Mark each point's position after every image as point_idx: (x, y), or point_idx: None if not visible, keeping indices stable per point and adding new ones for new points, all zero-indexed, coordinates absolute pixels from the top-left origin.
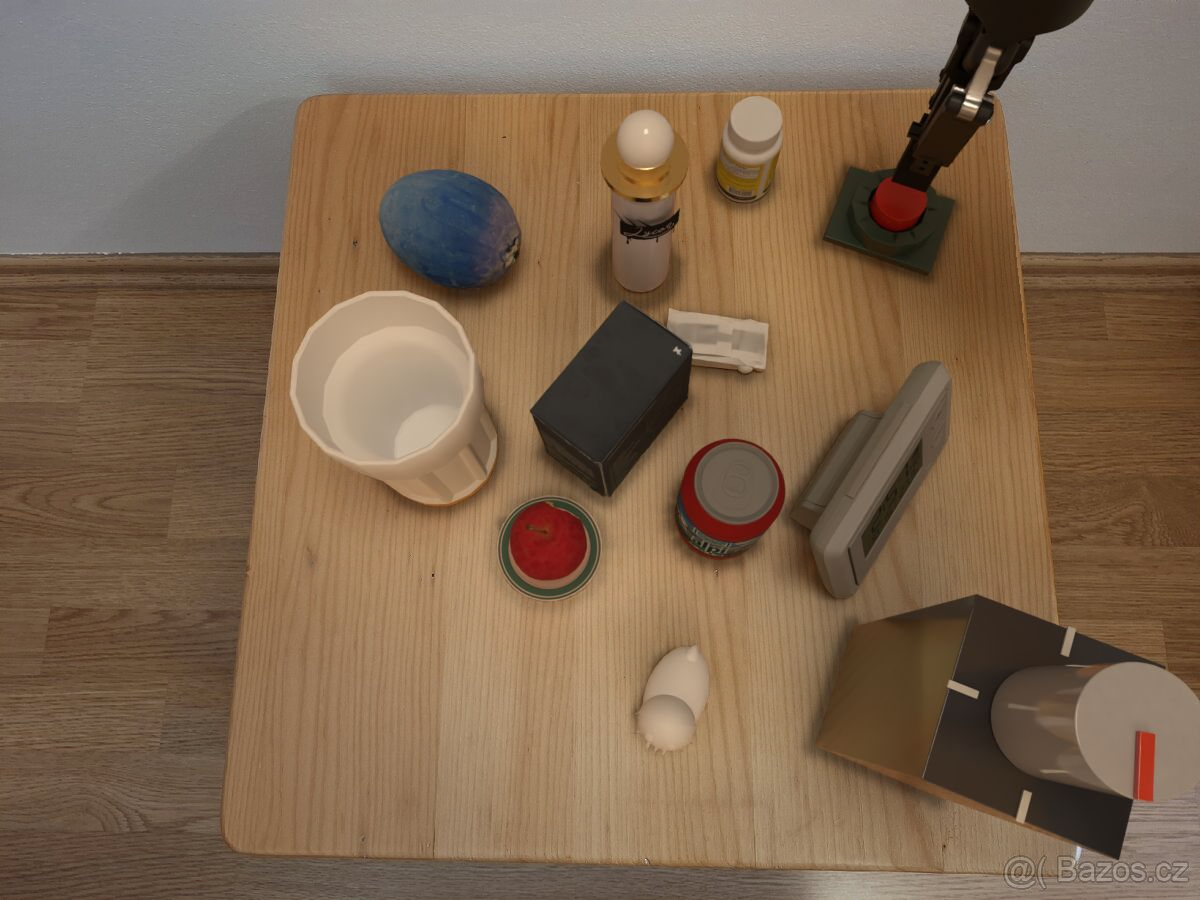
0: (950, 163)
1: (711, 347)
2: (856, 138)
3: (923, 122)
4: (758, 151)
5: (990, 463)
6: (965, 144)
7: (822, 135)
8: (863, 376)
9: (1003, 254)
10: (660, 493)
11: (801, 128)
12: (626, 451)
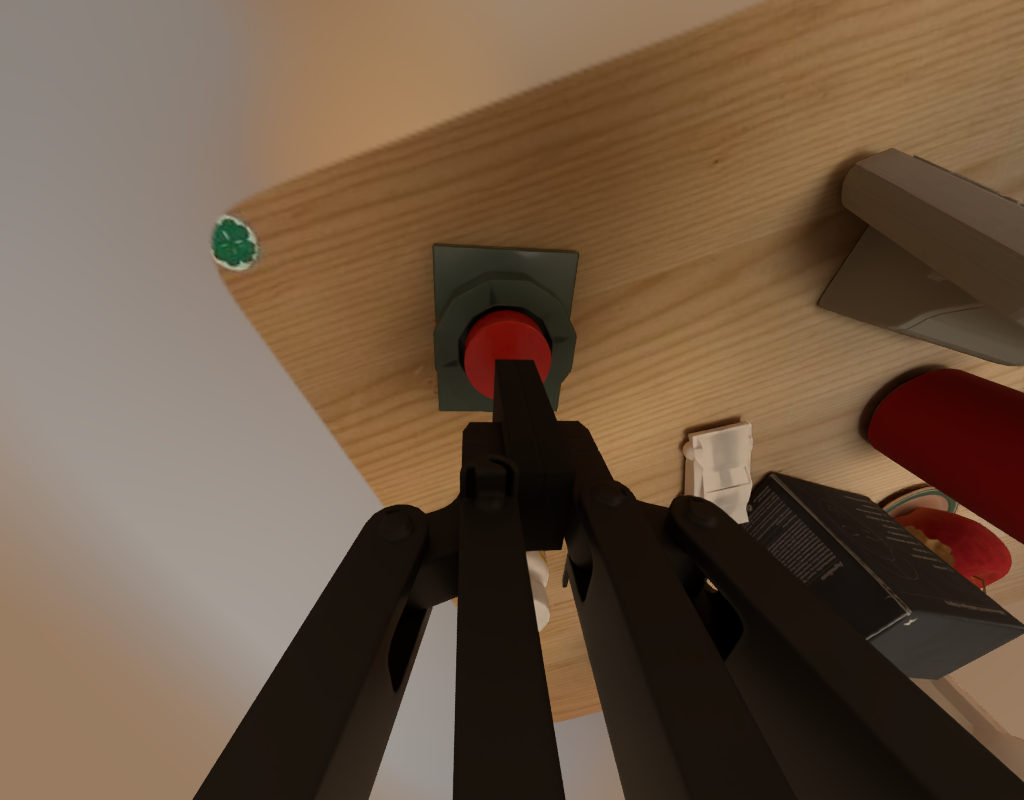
0: (751, 537)
1: (743, 489)
2: (385, 409)
3: (535, 545)
4: (537, 578)
5: (912, 41)
6: (979, 743)
7: (402, 447)
8: (745, 302)
9: (498, 115)
10: (868, 460)
11: (405, 470)
12: (920, 556)
